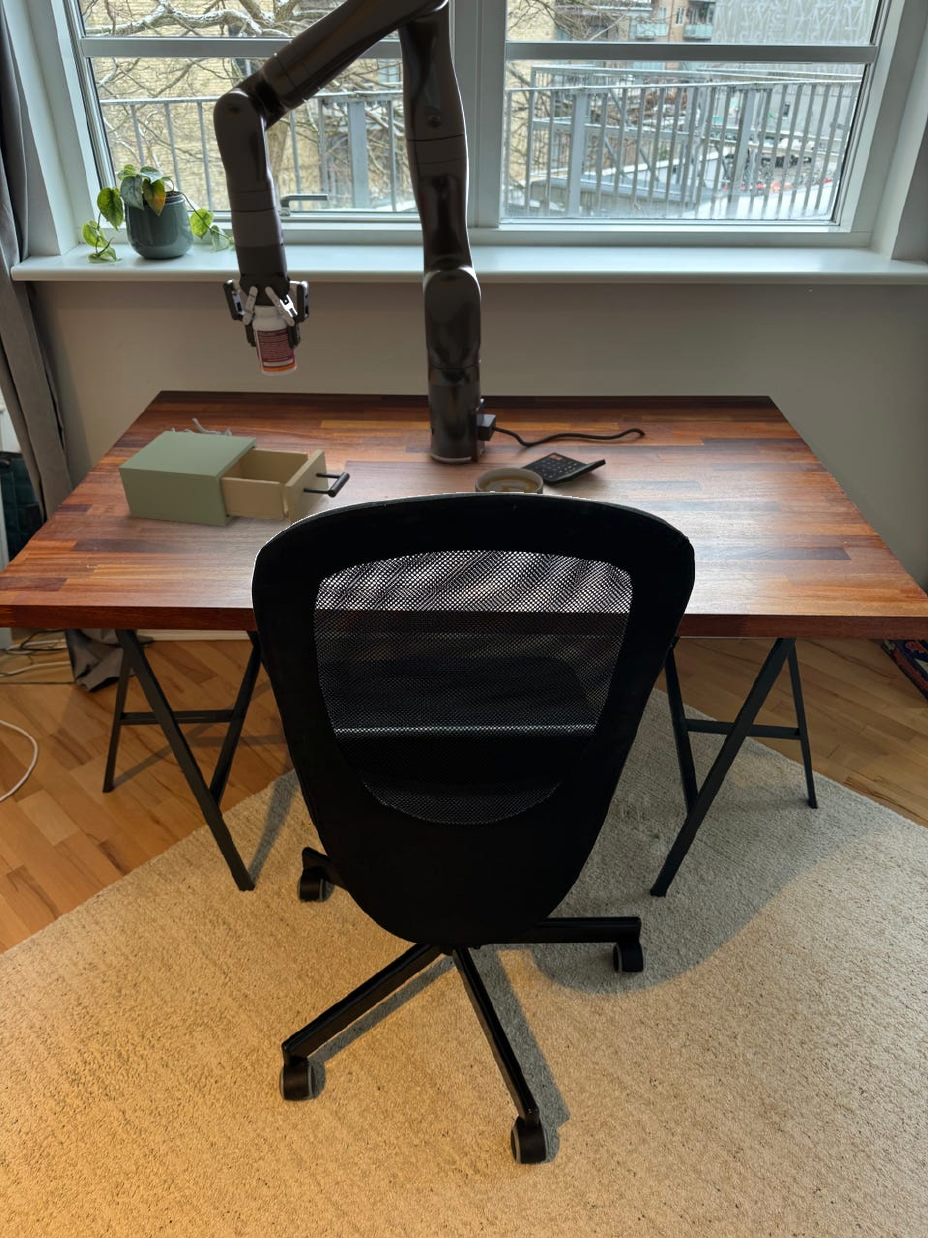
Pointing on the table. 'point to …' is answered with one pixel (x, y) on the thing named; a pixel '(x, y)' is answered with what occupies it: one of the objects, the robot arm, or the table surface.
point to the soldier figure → (227, 432)
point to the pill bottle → (273, 342)
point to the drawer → (277, 484)
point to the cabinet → (182, 476)
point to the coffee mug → (509, 481)
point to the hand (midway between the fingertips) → (275, 346)
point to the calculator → (561, 468)
